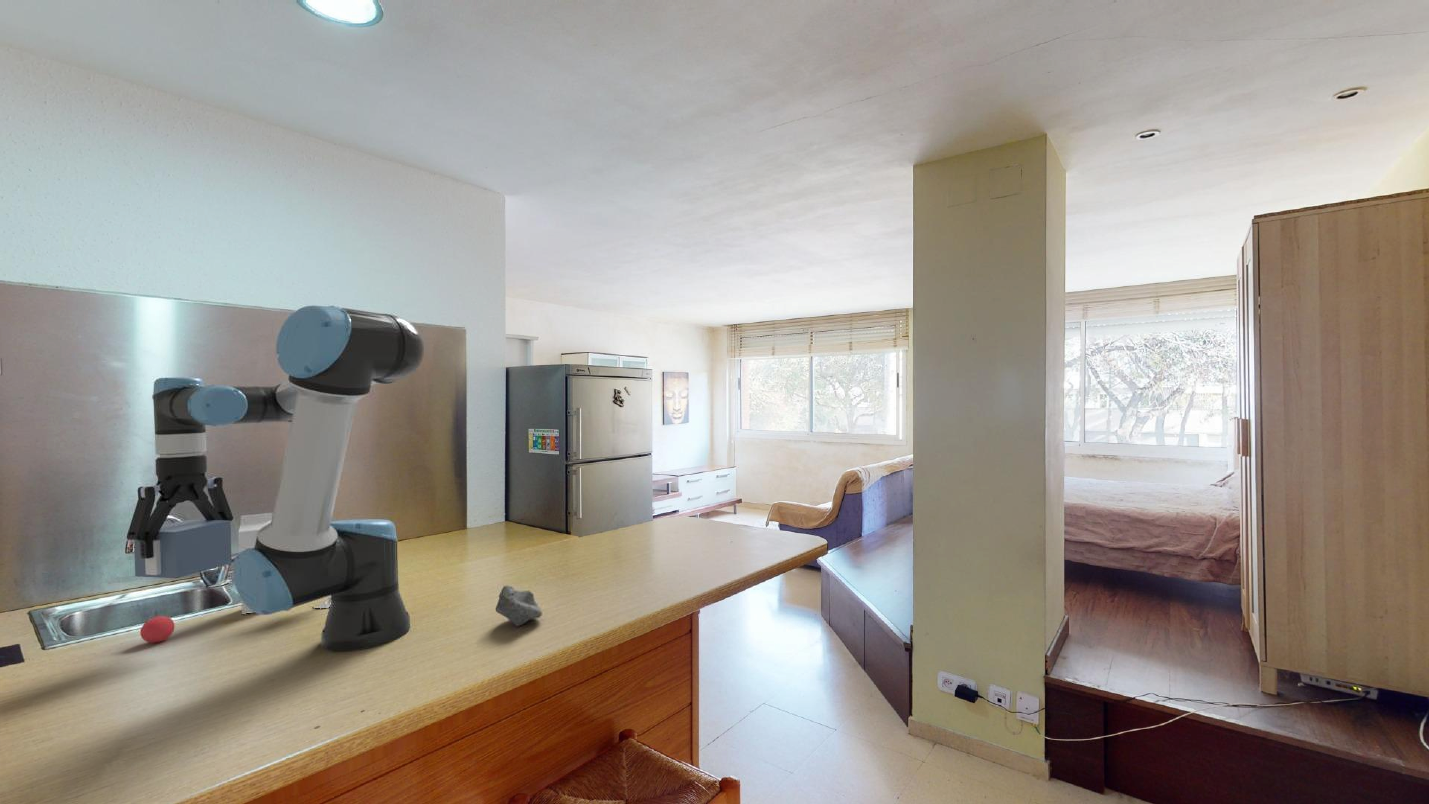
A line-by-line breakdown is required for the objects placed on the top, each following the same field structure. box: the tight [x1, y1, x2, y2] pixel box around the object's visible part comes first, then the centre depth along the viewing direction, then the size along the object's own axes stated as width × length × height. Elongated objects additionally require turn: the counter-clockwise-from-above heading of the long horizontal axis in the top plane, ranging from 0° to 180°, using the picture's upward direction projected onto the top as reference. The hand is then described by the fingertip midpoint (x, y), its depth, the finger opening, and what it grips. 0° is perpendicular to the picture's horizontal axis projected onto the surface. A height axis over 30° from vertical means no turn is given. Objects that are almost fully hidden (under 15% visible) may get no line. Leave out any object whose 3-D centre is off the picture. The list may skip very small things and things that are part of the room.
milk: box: [238, 512, 273, 615], centre depth 135 cm, size 6×6×22 cm
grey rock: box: [495, 585, 543, 627], centre depth 119 cm, size 11×9×8 cm
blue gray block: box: [133, 519, 233, 579], centre depth 116 cm, size 10×10×9 cm
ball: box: [139, 615, 176, 644], centre depth 117 cm, size 5×5×5 cm
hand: (185, 566), depth 116 cm, fingers closed on blue gray block, 10 cm apart
